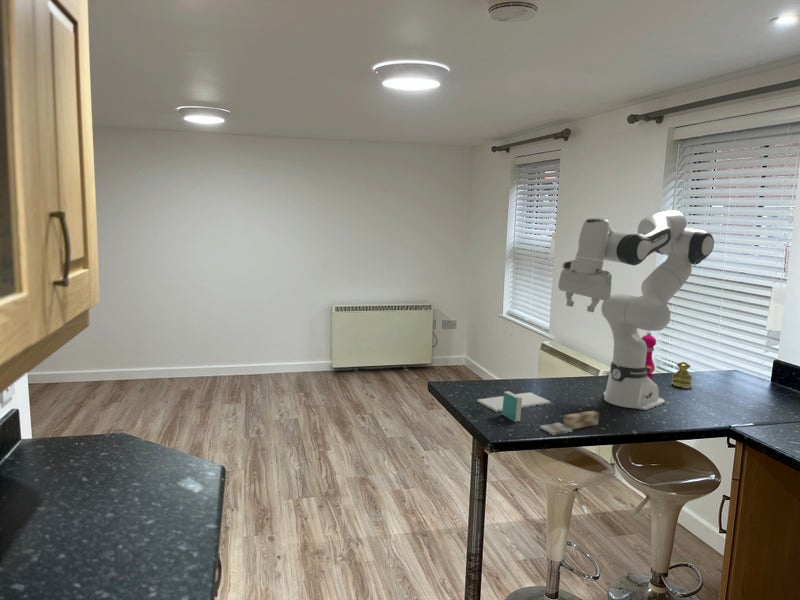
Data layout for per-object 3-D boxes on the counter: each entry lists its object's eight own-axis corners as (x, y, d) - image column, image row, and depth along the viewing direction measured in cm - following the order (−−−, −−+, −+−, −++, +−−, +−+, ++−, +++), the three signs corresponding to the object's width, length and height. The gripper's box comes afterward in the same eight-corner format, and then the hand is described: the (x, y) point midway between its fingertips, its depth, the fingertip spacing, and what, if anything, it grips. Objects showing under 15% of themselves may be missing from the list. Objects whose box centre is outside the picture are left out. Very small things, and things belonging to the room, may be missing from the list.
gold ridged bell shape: (667, 383, 243) (670, 359, 241) (684, 383, 244) (687, 360, 242) (677, 389, 236) (680, 364, 234) (695, 389, 236) (698, 365, 235)
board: (529, 394, 219) (530, 392, 219) (550, 403, 209) (550, 401, 209) (477, 401, 208) (477, 399, 207) (496, 411, 198) (496, 409, 198)
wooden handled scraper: (588, 420, 195) (589, 408, 194) (602, 426, 189) (603, 414, 189) (539, 428, 185) (540, 416, 184) (553, 435, 179) (554, 423, 179)
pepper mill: (655, 381, 245) (660, 334, 242) (636, 379, 246) (642, 332, 243) (651, 376, 252) (656, 330, 249) (633, 374, 254) (638, 329, 250)
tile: (506, 414, 196) (508, 391, 195) (520, 421, 190) (522, 397, 189) (501, 415, 195) (503, 391, 194) (515, 422, 189) (517, 398, 188)
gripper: (619, 272, 184) (610, 315, 186) (573, 264, 202) (565, 304, 204) (605, 270, 181) (596, 314, 183) (559, 262, 199) (551, 302, 201)
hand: (579, 308), depth 194 cm, fingers open, 8 cm apart
